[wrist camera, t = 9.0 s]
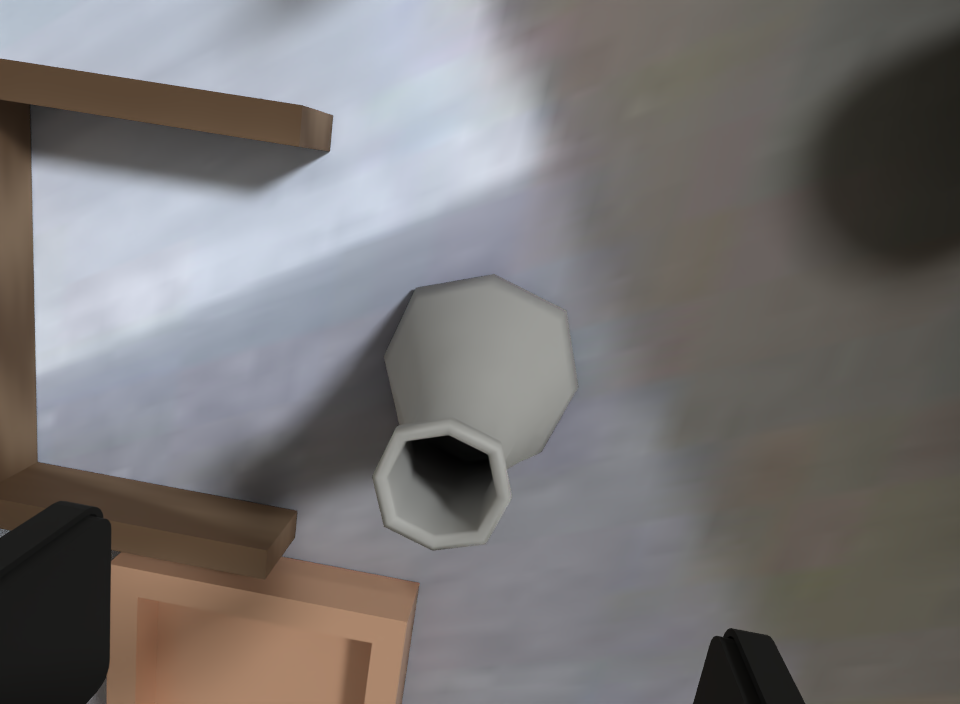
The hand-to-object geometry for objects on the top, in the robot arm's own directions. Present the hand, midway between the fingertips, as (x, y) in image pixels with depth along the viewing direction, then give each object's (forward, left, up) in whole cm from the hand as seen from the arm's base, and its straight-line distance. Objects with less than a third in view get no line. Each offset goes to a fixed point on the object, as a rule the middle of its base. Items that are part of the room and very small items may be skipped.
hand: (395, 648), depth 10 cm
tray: (-15, +7, -15) cm, 22 cm away
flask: (0, 0, -15) cm, 15 cm away
